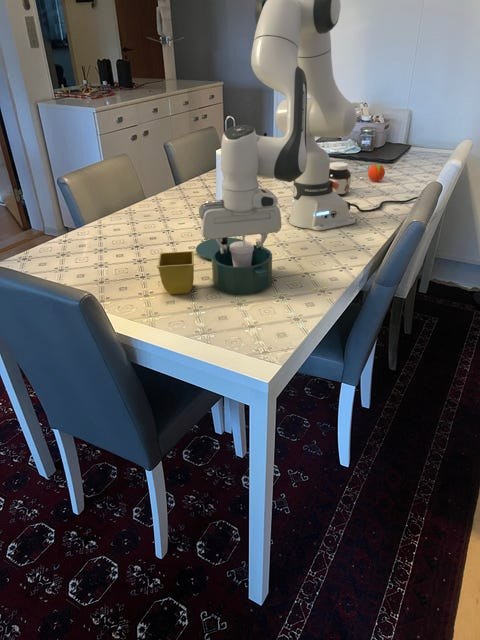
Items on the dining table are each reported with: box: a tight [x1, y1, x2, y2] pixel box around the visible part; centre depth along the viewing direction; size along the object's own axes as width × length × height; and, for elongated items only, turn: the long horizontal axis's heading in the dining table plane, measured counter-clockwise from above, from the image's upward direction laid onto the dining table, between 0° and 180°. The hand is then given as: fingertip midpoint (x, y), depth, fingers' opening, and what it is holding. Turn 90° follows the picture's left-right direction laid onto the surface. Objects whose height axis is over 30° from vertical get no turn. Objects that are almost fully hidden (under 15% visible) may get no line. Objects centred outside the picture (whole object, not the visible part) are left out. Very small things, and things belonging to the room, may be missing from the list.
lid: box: [195, 237, 243, 261], centre depth 147 cm, size 17×17×6 cm
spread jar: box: [329, 161, 352, 198], centre depth 193 cm, size 12×11×12 cm
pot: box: [211, 244, 273, 296], centre depth 129 cm, size 16×21×8 cm
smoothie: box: [229, 235, 255, 267], centre depth 127 cm, size 6×6×14 cm
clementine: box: [367, 164, 386, 182], centre depth 207 cm, size 8×7×7 cm
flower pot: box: [157, 250, 195, 295], centre depth 125 cm, size 9×9×9 cm
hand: (241, 250), depth 126 cm, fingers open, 8 cm apart
